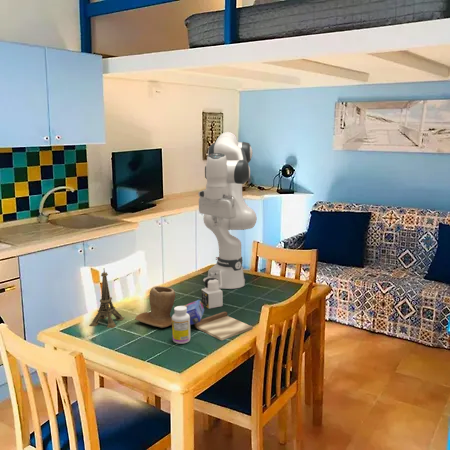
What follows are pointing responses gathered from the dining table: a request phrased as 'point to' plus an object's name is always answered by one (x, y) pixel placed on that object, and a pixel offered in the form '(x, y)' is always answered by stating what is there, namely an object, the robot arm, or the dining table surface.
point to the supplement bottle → (181, 325)
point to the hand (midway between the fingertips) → (217, 226)
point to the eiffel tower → (106, 306)
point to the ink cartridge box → (195, 311)
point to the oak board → (222, 326)
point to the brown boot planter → (159, 307)
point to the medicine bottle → (212, 294)
